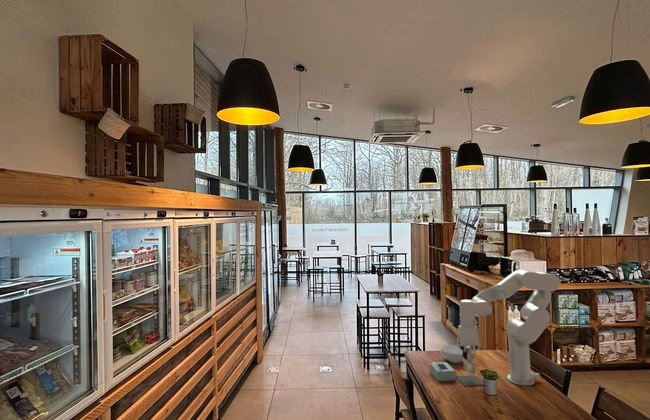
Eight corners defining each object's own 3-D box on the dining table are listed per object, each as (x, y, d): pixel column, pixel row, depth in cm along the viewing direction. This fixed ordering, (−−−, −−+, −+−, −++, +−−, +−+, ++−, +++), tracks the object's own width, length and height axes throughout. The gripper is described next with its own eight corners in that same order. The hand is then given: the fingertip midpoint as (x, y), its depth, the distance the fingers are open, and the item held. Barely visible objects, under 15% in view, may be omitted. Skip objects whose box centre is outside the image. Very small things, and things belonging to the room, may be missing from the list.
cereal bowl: (472, 367, 204) (471, 355, 204) (442, 365, 208) (441, 353, 208) (468, 356, 220) (468, 345, 221) (440, 354, 225) (440, 343, 225)
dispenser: (446, 371, 200) (446, 360, 200) (455, 380, 188) (454, 369, 188) (430, 371, 199) (429, 361, 199) (437, 381, 187) (437, 370, 188)
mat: (475, 376, 192) (475, 375, 192) (485, 385, 181) (485, 384, 181) (455, 377, 191) (455, 376, 191) (464, 386, 180) (464, 385, 180)
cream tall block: (469, 368, 190) (468, 346, 190) (475, 373, 183) (474, 350, 184) (463, 368, 189) (462, 346, 190) (469, 374, 183) (468, 350, 184)
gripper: (479, 321, 192) (480, 355, 191) (449, 322, 191) (450, 356, 190) (486, 325, 184) (487, 360, 183) (455, 326, 183) (456, 362, 182)
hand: (468, 358), depth 187 cm, fingers closed on cream tall block, 3 cm apart
